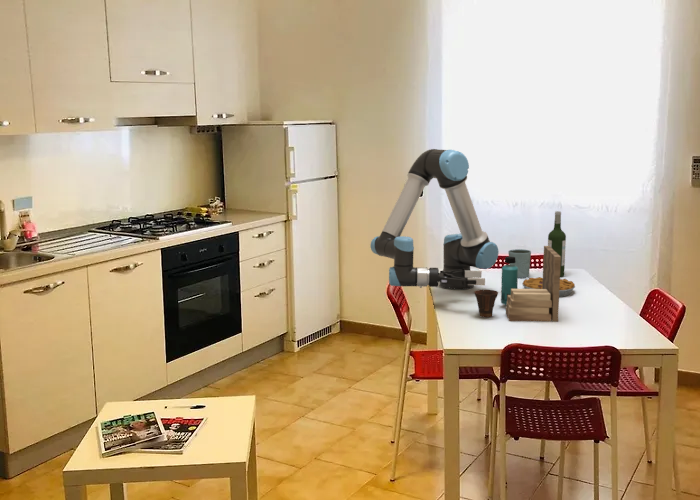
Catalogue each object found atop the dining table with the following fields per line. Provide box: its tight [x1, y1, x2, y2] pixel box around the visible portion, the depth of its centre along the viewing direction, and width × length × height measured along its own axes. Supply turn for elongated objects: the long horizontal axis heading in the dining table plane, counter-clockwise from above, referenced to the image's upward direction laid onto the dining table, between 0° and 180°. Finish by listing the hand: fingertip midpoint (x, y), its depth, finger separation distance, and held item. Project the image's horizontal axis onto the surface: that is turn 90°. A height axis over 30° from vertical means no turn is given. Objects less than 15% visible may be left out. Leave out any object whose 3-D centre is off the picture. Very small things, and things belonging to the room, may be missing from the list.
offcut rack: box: [505, 245, 561, 322], centre depth 281 cm, size 22×18×24 cm
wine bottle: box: [547, 210, 567, 278], centre depth 344 cm, size 8×8×30 cm
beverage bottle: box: [500, 256, 519, 306], centre depth 291 cm, size 6×7×20 cm
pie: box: [521, 276, 576, 298], centre depth 316 cm, size 22×22×5 cm
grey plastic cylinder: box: [508, 248, 532, 279], centre depth 345 cm, size 10×10×12 cm
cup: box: [473, 288, 499, 318], centre depth 279 cm, size 9×9×10 cm
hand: (483, 277), depth 291 cm, fingers open, 13 cm apart
